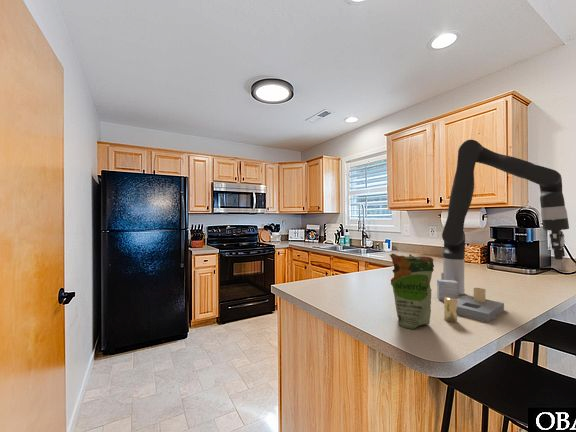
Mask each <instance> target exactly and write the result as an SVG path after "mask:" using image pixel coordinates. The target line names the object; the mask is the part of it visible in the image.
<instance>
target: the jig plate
mask: <svg viewBox="0 0 576 432" xmlns="http://www.w3.org/2000/svg"><path fill="white" fill-rule="evenodd" d="M504 311H505V302H502V301H495V300H491V299H486V288H481V287H474V288H473V296H471V295H466V294H463V295H461V296H460V297H459V298H458V299H457V316H458V315H459V316H463V317H467V318H470V319H473V320H474V319H475V320H477V321H478V320H479V321H482V322H486V323H490V322H491V321H492V320H493V319H495V318H496V317H497V316H498V315H500V314H501V313H502V312H504Z"/></svg>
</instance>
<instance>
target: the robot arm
mask: <svg viewBox="0 0 576 432" xmlns="http://www.w3.org/2000/svg"><path fill="white" fill-rule="evenodd" d="M476 163H478V164H482V165H486V166H490V167H492V168H494V169H497V170H499V171H502V172H504V173H507V174H509V175H512V176H515V177H518V178H520V179H524V180H527V181H530V182H532V183H533V184H537V185H539V186H538V187H539V191H540V195H539V204H540V217H541V223H542V229H543V230H544V231H551V233H550V234H549V240H550V244H551V249H552V250H553V255H554V256H553V257H554V259H555V260H557V261H558V260H563V259H564V257H565V243H566V240H565V234H564V232H563V231H564V230H565V231H566V230H569V229H570V225H569V218H568V212H567V211H568V210H567V209H566V204H565V203H566V202H565V198H564V193H563V180H562V175H561V173H560V172H558V170H555V169H553V168H549V167H546V166H541V165H538V164H535V163H532V162H530V161H527V160H524V159H521V158H519V157H515V156H511V155H506V154H501V153H498V152H495V151H492V150H491V149H488V148H487V147H484V146H483V145H482V144H481V143H480V142H479V141H477V140H474V139H467V140H465V141H463V142H462V143H461V144H460V146H459V147H458V150H457V162H456V170H455V174H454V177H453V182H452V185H451V191H450V195H449V202H448V211H447V217H446V221H445V225H444V227H443V230H442V233H441V237H442V240H443V252H442V272H441V274H440V276H441V277H440V278H441V279H440V280H453V281H457V282H458V283H459V296H464V295H465V291H466V290H465V256H466V255H465V254H466V233H465V231H464V229H465V228H464V226H465V220H466V216H467V214H468V212H469V209H470V207H471V205H472V204H471V203H472V200H473V197H474V192H475V166H476Z"/></svg>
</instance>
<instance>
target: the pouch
mask: <svg viewBox="0 0 576 432" xmlns="http://www.w3.org/2000/svg"><path fill="white" fill-rule="evenodd" d="M389 257H390V258H391V262H392V264H393V269H392V271H391V272H392V273H393V277H391V279H390V285H391V287H392V292H393V295H394V304H395V310H396V317H397V320H398V323H399V326H401V327H402V328H405V329H409V330H410V329H411V330H414V329H417V327H420V326H422V325H427V326H428V325H430V324H431V323H430V322H431V313H432V310H431V309H432V306H431V304H432V289H431V280H432V277H433V276H432V275H433V272H434V267H435V265H434V258H432V257H431V256H415V255H414V256H413V255H412V254H411V253H410V254H409V255H408V256H406V255H398V254H396V253H391V254H389Z"/></svg>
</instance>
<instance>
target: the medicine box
mask: <svg viewBox="0 0 576 432" xmlns="http://www.w3.org/2000/svg"><path fill="white" fill-rule="evenodd" d="M459 296H460V295H459V283H458V282H457V281H453V280H441V279H437V280H436V298H437V299H438V300H439V301H444V298H445V297H451V298H455V299H458V298H460V297H459Z"/></svg>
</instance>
